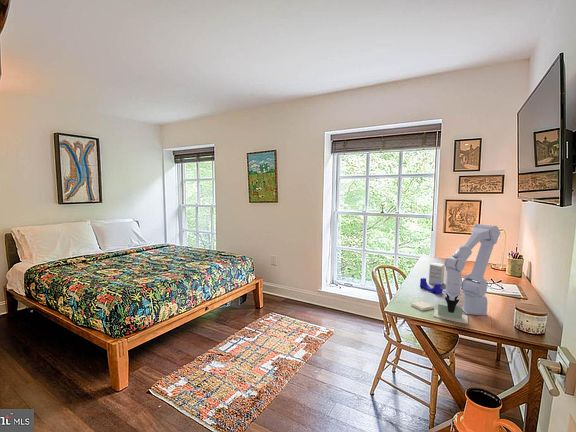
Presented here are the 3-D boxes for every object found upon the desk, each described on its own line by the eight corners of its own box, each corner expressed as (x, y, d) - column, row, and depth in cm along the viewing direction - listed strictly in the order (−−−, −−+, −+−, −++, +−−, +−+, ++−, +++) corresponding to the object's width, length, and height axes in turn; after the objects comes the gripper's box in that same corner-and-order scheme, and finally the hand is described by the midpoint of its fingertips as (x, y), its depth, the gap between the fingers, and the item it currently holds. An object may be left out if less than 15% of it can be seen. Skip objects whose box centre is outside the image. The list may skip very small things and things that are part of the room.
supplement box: (431, 280, 193) (432, 261, 191) (443, 283, 188) (445, 264, 187) (428, 283, 187) (429, 264, 186) (440, 286, 182) (442, 266, 181)
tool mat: (467, 316, 140) (467, 315, 140) (467, 324, 132) (468, 323, 132) (434, 309, 147) (434, 309, 147) (433, 316, 139) (433, 315, 139)
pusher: (461, 316, 139) (462, 306, 138) (461, 319, 136) (462, 308, 136) (438, 311, 144) (438, 302, 143) (437, 314, 141) (438, 304, 140)
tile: (422, 301, 155) (411, 303, 152) (433, 306, 149) (422, 308, 146) (422, 304, 155) (411, 306, 152) (433, 309, 149) (421, 311, 146)
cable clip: (442, 293, 170) (442, 283, 170) (436, 294, 168) (437, 284, 168) (425, 286, 181) (425, 277, 181) (419, 287, 179) (420, 278, 179)
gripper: (444, 276, 146) (442, 302, 148) (442, 285, 134) (440, 313, 135) (460, 279, 143) (458, 305, 144) (460, 288, 130) (458, 317, 132)
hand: (451, 309), depth 139 cm, fingers open, 6 cm apart
